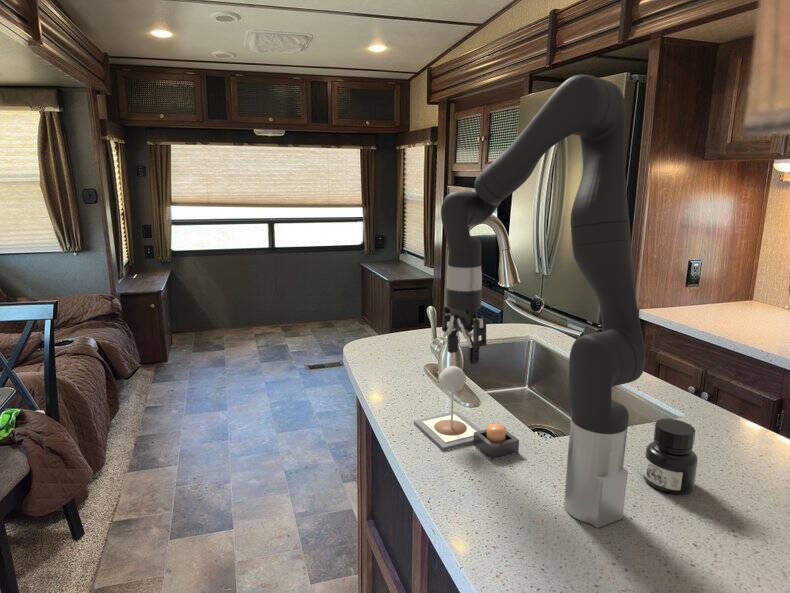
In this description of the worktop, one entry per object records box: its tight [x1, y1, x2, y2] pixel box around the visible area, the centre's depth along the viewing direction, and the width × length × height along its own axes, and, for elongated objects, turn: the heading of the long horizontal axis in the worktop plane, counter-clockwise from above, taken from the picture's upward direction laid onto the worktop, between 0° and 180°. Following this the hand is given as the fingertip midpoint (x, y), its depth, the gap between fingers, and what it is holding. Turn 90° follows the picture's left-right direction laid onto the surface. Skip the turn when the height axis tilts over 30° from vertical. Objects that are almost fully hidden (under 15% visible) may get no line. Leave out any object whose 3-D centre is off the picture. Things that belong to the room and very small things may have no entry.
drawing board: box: [413, 411, 482, 452], centre depth 125 cm, size 14×12×1 cm
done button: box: [486, 423, 507, 444], centre depth 116 cm, size 4×4×3 cm
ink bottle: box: [642, 418, 699, 495], centre depth 103 cm, size 10×9×12 cm
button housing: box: [472, 428, 520, 461], centre depth 117 cm, size 7×7×3 cm
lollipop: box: [438, 365, 467, 428], centre depth 123 cm, size 6×6×15 cm
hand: (462, 357), depth 118 cm, fingers open, 8 cm apart
